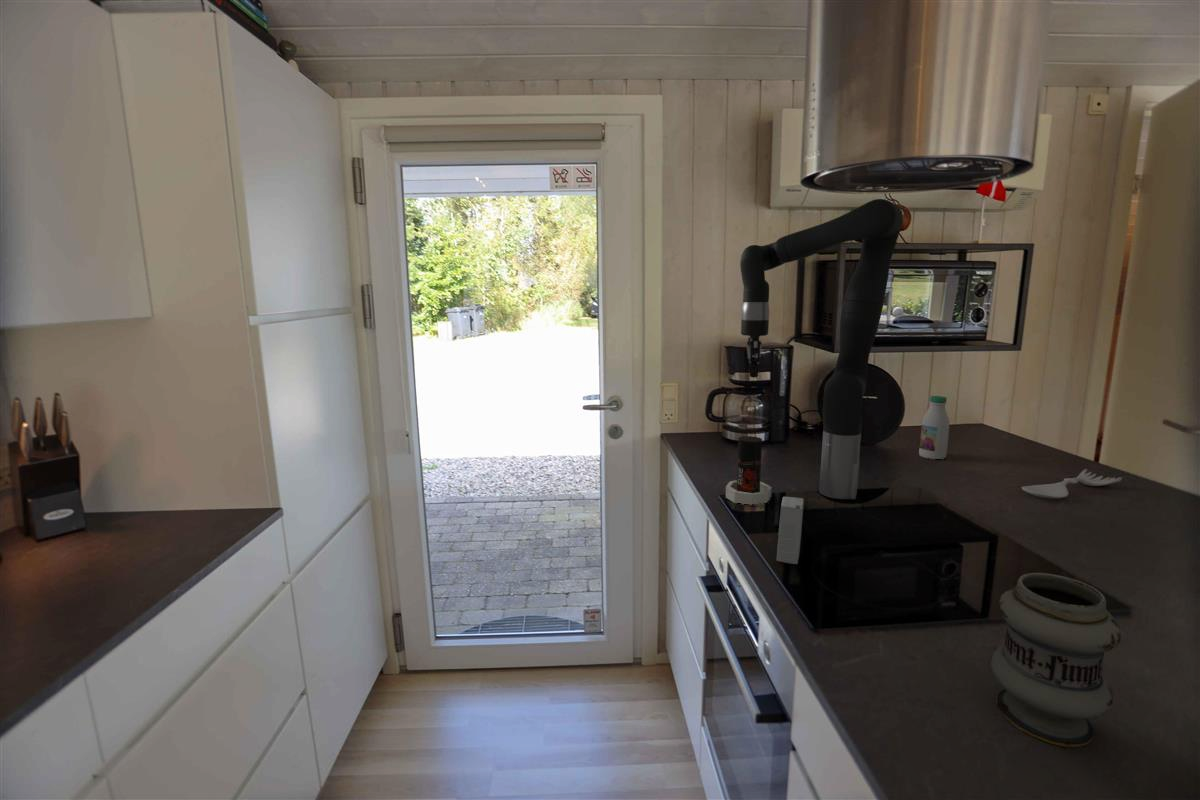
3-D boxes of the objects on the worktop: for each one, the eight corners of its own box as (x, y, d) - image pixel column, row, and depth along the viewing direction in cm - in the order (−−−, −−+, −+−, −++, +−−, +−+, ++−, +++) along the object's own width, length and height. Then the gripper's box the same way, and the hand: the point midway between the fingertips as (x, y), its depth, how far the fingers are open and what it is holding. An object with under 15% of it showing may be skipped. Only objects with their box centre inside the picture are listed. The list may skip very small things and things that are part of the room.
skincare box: (778, 549, 120) (781, 495, 118) (800, 552, 118) (804, 497, 116) (775, 562, 114) (778, 505, 112) (799, 565, 113) (802, 508, 110)
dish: (773, 494, 152) (773, 483, 152) (765, 507, 143) (765, 496, 142) (732, 488, 157) (733, 477, 157) (722, 501, 148) (722, 490, 147)
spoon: (1122, 488, 155) (1124, 476, 154) (1049, 506, 143) (1051, 493, 142) (1083, 478, 163) (1085, 467, 163) (1012, 494, 151) (1014, 482, 151)
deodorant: (763, 493, 150) (766, 438, 147) (752, 499, 146) (755, 443, 143) (743, 488, 154) (745, 435, 151) (732, 494, 150) (734, 439, 147)
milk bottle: (938, 453, 188) (945, 394, 185) (950, 460, 181) (957, 399, 177) (914, 453, 189) (920, 394, 185) (925, 460, 182) (931, 398, 178)
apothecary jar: (967, 682, 79) (982, 563, 75) (1059, 687, 78) (1079, 566, 74) (1022, 751, 67) (1043, 613, 64) (1132, 758, 66) (1159, 618, 62)
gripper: (771, 319, 152) (768, 379, 155) (766, 317, 166) (764, 371, 169) (742, 319, 154) (740, 378, 157) (740, 317, 167) (738, 371, 171)
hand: (752, 375), depth 163 cm, fingers open, 8 cm apart
